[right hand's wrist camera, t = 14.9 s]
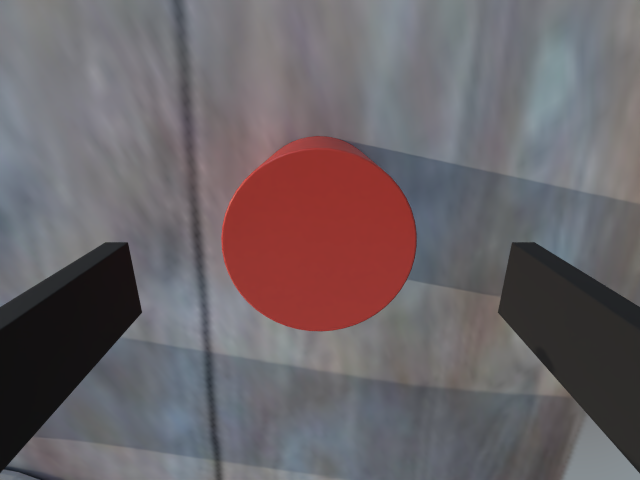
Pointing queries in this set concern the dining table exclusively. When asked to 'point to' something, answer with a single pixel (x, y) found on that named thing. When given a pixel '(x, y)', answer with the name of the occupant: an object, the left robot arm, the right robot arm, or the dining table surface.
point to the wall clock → (14, 476)
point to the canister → (319, 236)
